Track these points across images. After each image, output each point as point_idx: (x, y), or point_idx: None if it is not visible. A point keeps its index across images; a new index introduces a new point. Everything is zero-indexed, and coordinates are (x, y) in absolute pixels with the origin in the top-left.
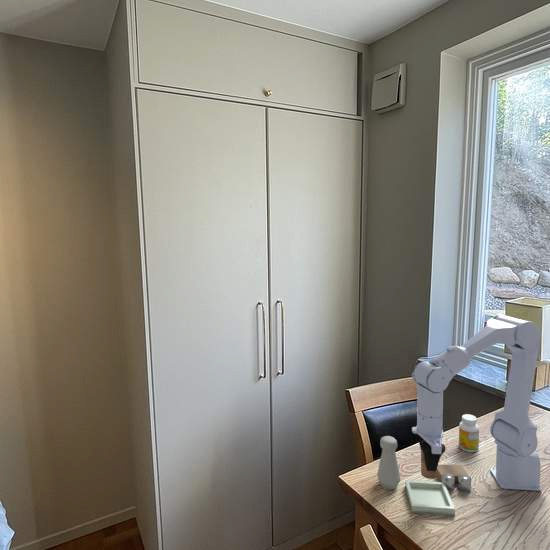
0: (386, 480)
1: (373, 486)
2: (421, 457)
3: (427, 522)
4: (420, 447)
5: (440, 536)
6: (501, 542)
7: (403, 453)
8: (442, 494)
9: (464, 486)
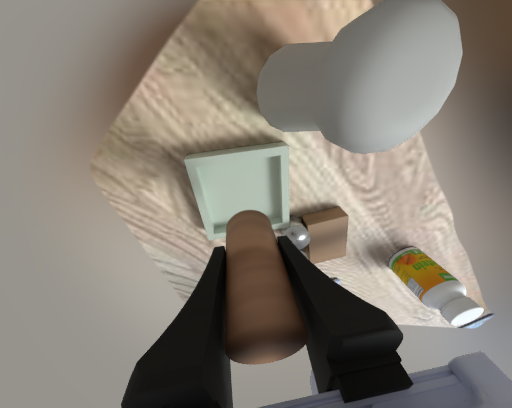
0: (260, 81)
1: (272, 33)
2: (247, 255)
3: (169, 184)
4: (301, 266)
5: (138, 205)
6: (172, 278)
7: (418, 141)
8: None
9: None
